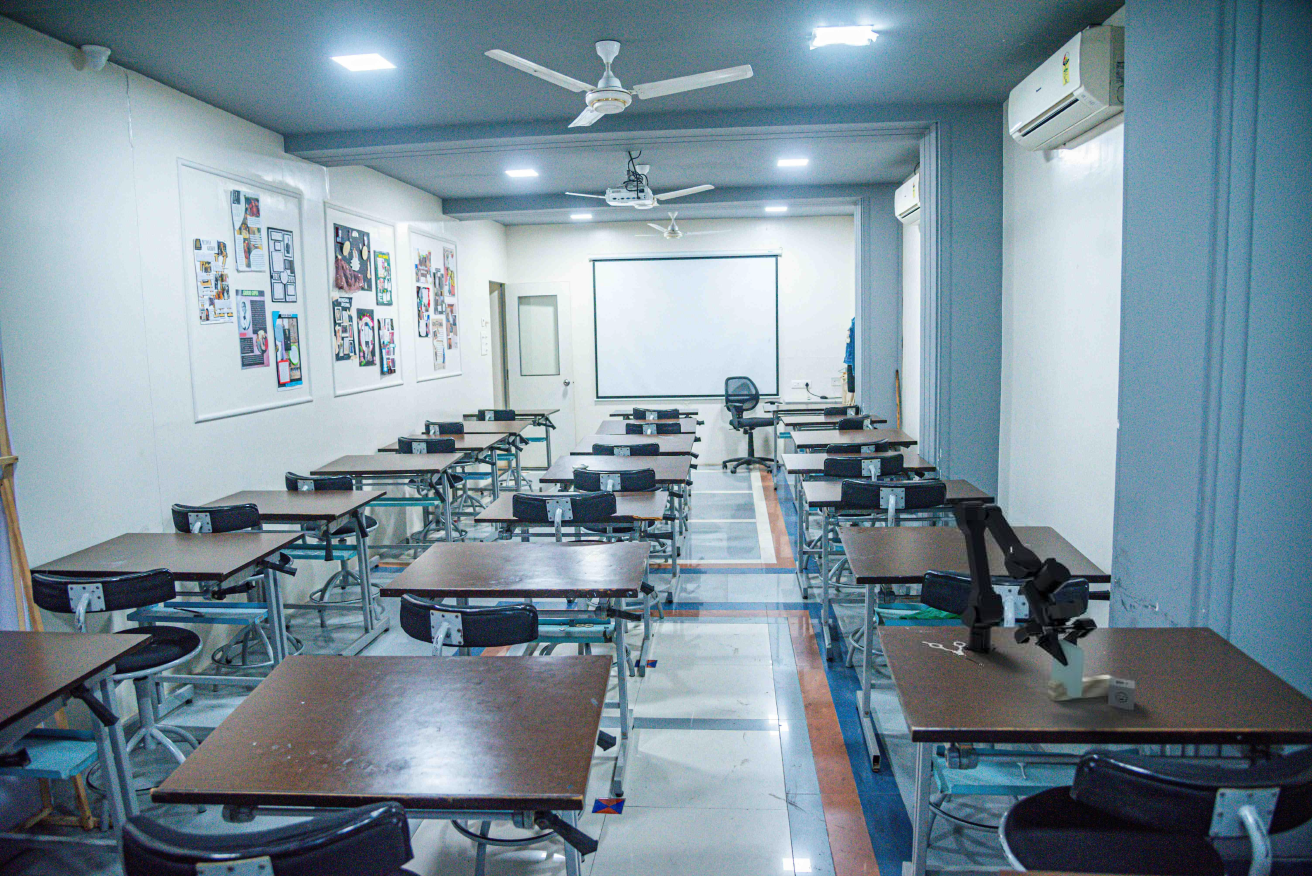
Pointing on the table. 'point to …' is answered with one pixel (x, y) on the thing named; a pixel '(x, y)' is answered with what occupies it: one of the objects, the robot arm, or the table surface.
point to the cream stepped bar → (1089, 688)
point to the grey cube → (1121, 693)
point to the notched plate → (1070, 668)
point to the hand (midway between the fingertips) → (1071, 665)
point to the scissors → (948, 649)
